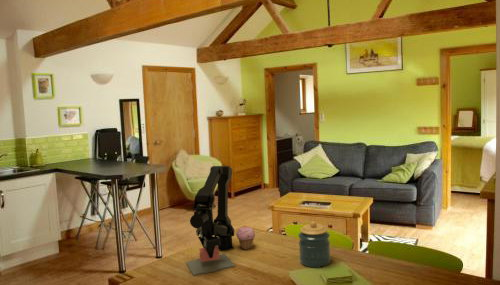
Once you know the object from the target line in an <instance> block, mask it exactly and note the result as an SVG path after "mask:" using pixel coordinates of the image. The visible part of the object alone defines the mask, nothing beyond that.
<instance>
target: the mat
mask: <svg viewBox="0 0 500 285" xmlns="http://www.w3.org/2000/svg"><path fill="white" fill-rule="evenodd" d="M185 265H186V266H187V268H188V269H189V271H190V273H191V275H192V276H193V277H195V276H200V275H204V274H208V273H213V272H218V271H223V270H226V269H231V268H235V267H236V264H235V263H234V262H233V261H232V260H231V259H230V258H229V256H227V253H226V254H225V253H221V254H219V259H218V260H211V261H204V262H201V260H200V258H198V259H193V260H188V261H185Z"/></svg>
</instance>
